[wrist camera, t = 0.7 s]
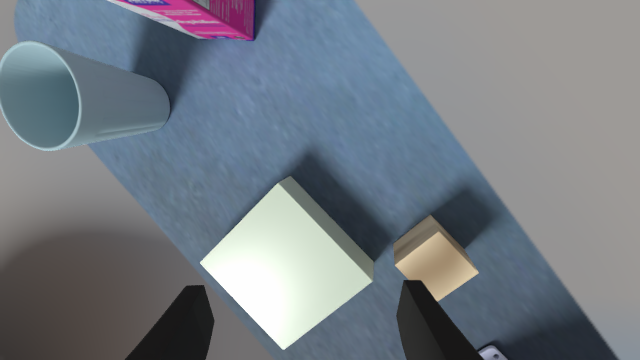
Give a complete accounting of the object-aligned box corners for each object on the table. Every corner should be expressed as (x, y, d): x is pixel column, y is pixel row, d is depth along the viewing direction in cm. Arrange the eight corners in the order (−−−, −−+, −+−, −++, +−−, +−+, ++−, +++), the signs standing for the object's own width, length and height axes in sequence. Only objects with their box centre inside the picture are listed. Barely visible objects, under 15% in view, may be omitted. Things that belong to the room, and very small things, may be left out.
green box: (374, 260, 30) (372, 281, 26) (295, 323, 33) (283, 350, 29) (291, 174, 30) (277, 182, 26) (221, 246, 33) (199, 262, 29)
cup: (115, 63, 31) (-13, 37, 21) (179, 69, 30) (76, 43, 20) (118, 136, 33) (2, 143, 23) (180, 144, 31) (84, 156, 21)
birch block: (463, 249, 27) (478, 272, 23) (425, 276, 29) (432, 304, 24) (430, 214, 27) (438, 231, 23) (393, 243, 29) (394, 265, 24)
